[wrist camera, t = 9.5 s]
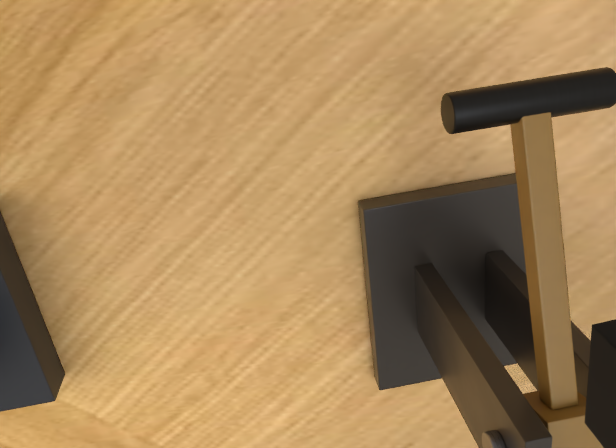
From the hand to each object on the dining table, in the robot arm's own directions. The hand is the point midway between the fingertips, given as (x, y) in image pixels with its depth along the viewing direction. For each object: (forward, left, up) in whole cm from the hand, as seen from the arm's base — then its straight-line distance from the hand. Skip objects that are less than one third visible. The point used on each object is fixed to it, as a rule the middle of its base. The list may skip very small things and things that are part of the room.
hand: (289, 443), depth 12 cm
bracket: (+9, +10, -19) cm, 23 cm away
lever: (+4, +10, -10) cm, 14 cm away
